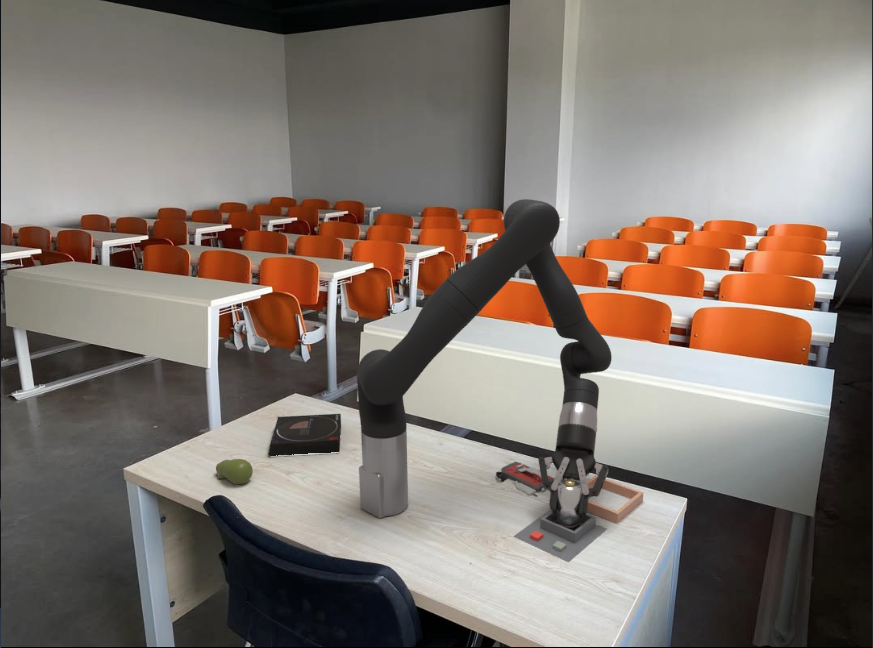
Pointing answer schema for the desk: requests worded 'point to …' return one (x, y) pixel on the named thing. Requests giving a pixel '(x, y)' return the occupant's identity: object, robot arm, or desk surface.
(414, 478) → the desk surface
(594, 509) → the pot
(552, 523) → the checker plate
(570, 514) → the cell
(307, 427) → the portable cd player
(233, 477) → the pear
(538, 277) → the robot arm
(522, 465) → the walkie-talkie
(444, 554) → the desk surface
